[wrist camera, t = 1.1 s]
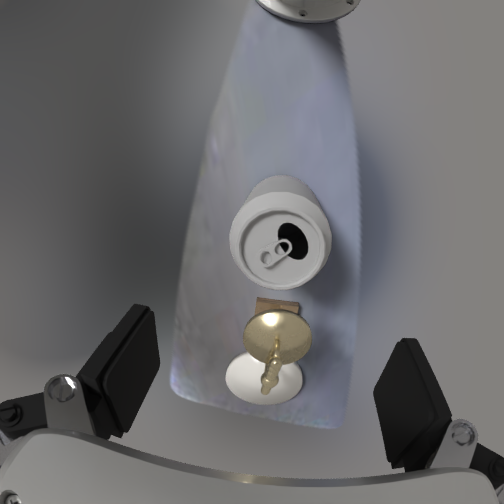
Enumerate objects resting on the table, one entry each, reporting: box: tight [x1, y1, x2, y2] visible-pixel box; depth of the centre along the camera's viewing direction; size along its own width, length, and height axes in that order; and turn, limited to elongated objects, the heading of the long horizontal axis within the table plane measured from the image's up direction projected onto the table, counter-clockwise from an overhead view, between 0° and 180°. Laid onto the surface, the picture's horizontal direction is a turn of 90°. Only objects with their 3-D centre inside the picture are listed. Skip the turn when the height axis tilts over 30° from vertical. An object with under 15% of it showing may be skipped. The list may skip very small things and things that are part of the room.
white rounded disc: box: [226, 351, 302, 405], centre depth 39 cm, size 11×11×1 cm
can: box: [229, 175, 332, 290], centre depth 25 cm, size 8×8×12 cm
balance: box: [243, 297, 312, 395], centre depth 29 cm, size 14×6×14 cm, turn 174°
